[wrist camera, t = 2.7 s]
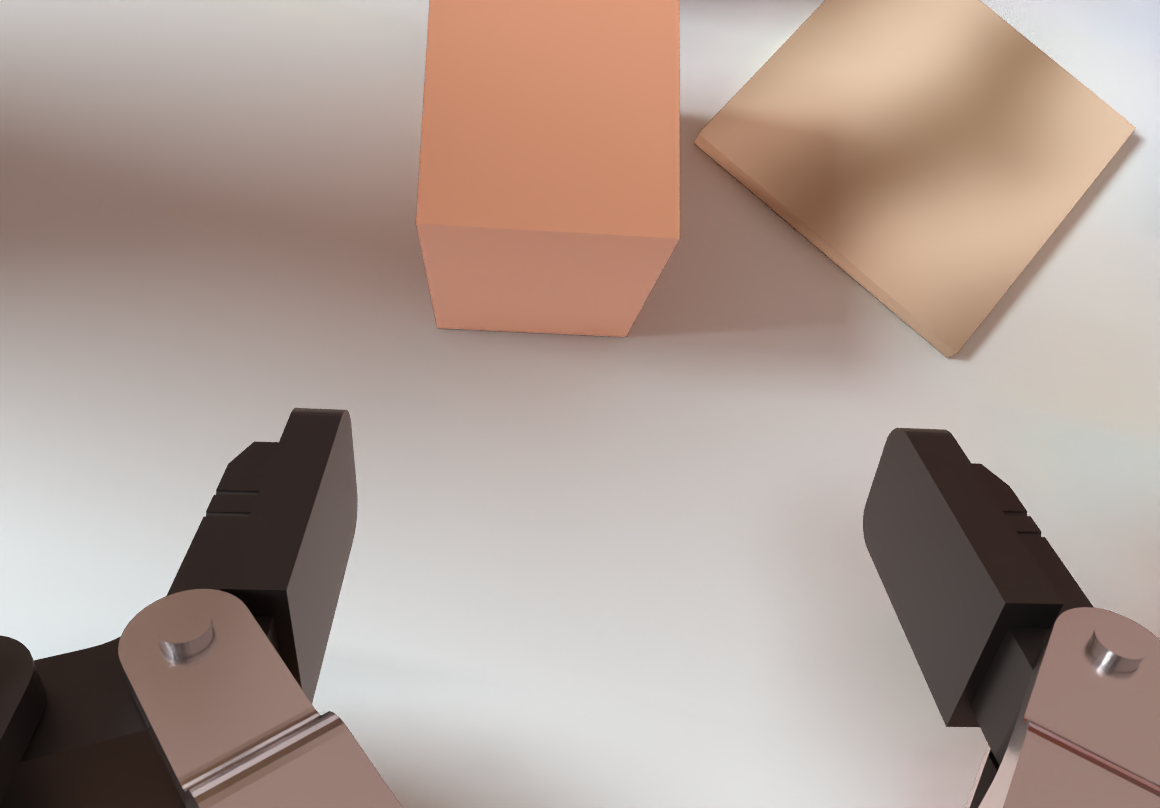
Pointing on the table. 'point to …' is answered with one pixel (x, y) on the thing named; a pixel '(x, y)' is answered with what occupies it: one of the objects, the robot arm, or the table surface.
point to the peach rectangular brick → (549, 162)
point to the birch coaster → (918, 151)
